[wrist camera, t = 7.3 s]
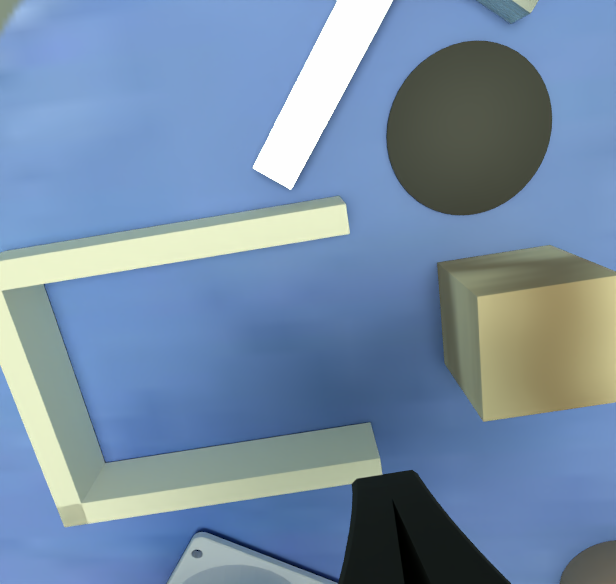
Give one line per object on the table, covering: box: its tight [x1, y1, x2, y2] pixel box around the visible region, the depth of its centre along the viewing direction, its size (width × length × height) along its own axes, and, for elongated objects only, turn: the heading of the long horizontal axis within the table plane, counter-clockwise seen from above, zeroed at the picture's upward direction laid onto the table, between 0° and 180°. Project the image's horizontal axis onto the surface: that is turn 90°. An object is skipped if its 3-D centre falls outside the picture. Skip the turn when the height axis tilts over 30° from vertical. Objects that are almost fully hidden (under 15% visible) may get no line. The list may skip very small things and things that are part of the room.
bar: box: [253, 0, 539, 189], centre depth 16 cm, size 10×6×2 cm, turn 151°
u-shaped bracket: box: [0, 196, 382, 527], centre depth 19 cm, size 13×11×2 cm
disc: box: [387, 41, 552, 215], centre depth 17 cm, size 6×6×1 cm
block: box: [437, 245, 616, 422], centre depth 18 cm, size 4×4×4 cm
